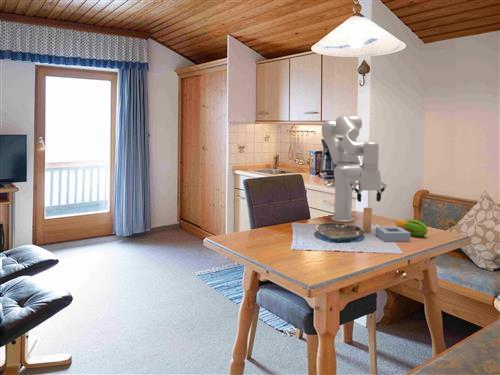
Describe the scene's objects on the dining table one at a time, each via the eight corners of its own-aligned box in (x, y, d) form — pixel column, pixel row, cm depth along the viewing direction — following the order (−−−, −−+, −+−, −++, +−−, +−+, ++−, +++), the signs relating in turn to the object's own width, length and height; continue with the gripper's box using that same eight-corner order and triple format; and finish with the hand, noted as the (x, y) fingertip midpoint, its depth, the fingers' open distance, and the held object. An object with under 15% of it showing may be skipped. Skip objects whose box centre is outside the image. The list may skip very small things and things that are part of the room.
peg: (361, 230, 218) (362, 207, 216) (369, 230, 218) (370, 207, 216) (364, 232, 214) (365, 209, 212) (371, 232, 214) (373, 209, 212)
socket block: (375, 234, 209) (375, 227, 208) (399, 234, 210) (399, 226, 209) (384, 241, 197) (385, 233, 197) (409, 241, 198) (410, 233, 197)
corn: (421, 223, 201) (390, 215, 219) (419, 239, 202) (388, 229, 219) (432, 223, 204) (400, 214, 222) (430, 238, 205) (399, 229, 223)
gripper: (355, 167, 206) (354, 202, 209) (390, 167, 208) (388, 202, 210) (350, 166, 214) (349, 200, 216) (384, 166, 215) (382, 200, 217)
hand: (368, 201), depth 213 cm, fingers open, 9 cm apart
